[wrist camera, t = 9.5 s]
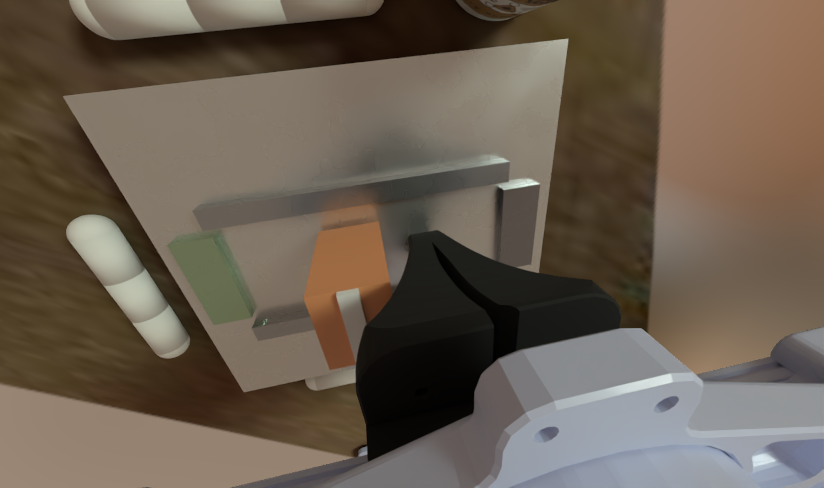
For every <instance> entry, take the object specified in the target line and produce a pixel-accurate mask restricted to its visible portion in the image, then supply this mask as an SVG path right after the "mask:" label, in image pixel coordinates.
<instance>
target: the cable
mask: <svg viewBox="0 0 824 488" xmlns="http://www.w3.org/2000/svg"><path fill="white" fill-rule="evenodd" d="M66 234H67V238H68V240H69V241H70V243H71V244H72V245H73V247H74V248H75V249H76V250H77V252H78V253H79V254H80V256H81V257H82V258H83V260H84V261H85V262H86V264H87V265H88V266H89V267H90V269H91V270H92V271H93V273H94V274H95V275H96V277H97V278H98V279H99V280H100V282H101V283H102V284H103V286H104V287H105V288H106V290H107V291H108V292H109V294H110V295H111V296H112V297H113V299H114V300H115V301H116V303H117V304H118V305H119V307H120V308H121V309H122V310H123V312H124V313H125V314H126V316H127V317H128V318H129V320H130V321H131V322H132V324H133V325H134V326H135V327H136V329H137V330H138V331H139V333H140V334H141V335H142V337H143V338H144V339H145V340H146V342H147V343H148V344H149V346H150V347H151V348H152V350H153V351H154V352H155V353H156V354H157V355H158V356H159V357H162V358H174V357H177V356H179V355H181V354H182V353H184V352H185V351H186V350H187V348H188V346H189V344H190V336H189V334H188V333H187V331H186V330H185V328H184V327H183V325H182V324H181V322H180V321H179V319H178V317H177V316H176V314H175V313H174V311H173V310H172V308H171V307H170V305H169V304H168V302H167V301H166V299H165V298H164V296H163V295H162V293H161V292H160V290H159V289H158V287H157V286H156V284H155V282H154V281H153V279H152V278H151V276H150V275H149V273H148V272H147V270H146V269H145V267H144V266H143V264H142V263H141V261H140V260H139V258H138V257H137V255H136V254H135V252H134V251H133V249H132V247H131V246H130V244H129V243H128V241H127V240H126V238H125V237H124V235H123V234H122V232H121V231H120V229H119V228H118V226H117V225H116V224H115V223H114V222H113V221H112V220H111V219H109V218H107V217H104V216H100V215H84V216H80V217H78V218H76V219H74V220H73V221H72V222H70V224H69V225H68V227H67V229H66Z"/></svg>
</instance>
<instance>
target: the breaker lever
mask: <svg viewBox="0 0 824 488" xmlns="http://www.w3.org/2000/svg"><path fill="white" fill-rule="evenodd" d="M391 296H392V290H391V284H390V279H389V274H388V268H387V263H386V257H385V252H384V247H383V241H382V236H381V230H380V225H379V221H378V222H372V223H367V224H361V225H355V226H349V227H343V228H337V229H331V230H325V231H319V232H318V237H317V241H316V246H315V250H314V254H313V259H312V263H311V268H310V272H309V276H308V281H307V285H306V290H305V294H304V301H305V304H306V306H307V309H308V312H309V315H310V317H311V320H312V323H313V326H314V328H315V331H316V334H317V337H318V339H319V342H320V345H321V348H322V350H323V353H324V356H325V359H326V361H327V364H328V367H329V370H333V369H338V368H342V367H347V366H352V365H356V360H357V354H358V348H359V344H360V340H361V337H362V333H363V330H364V327H365V326H366V325H367V324H368V323H369V322H370V321H371V320H372V319H373V318H374V317H375V316H376V315H377V314H378V313H379V312H380V311H381V310H382V308H383V307H384V306H385V304H386V303H387V302H388V300H389V299H390V298H391Z"/></svg>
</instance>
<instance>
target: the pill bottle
mask: <svg viewBox="0 0 824 488" xmlns="http://www.w3.org/2000/svg"><path fill="white" fill-rule="evenodd" d="M456 1H457V3H458V4H459V5H460V6H461V7H462V8H463V9H464V10H465V11H466V12H468V13H470V14H471V15H473V16H475V17H477V18H480V19H483V20H488V21H503V20H507V19H510V18H513V17H516V16H519V15H522V14H525V13H527V12H530V11H532V10H534V9H537V8H539V7H542V6H545V5H547V4H550V3H552V2H555V1H558V0H456Z"/></svg>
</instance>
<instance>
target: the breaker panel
mask: <svg viewBox="0 0 824 488" xmlns="http://www.w3.org/2000/svg"><path fill="white" fill-rule="evenodd" d="M567 46H568V39H562V40H553V41H544V42H536V43H527V44H518V45H509V46H500V47H492V48H483V49H474V50H465V51H456V52H448V53H439V54H430V55H421V56H412V57H403V58H395V59H386V60H377V61H368V62H359V63H351V64H342V65H333V66H324V67H315V68H307V69H298V70H289V71H280V72H271V73H262V74H254V75H245V76H236V77H227V78H218V79H210V80H201V81H192V82H183V83H174V84H166V85H157V86H148V87H139V88H130V89H121V90H113V91H104V92H95V93H86V94H77V95H69V96H63V97H64V99H65V101H66V102H67V104H68V106H69V107H70V109H71V111H72V112H73V114H74V115H75V117H76V119H77V120H78V122H79V124H80V125H81V127H82V128H83V130H84V132H85V133H86V135H87V137H88V138H89V140H90V142H91V143H92V145H93V146H94V148H95V150H96V151H97V153H98V155H99V156H100V158H101V160H102V161H103V163H104V164H105V166H106V168H107V169H108V171H109V173H110V174H111V176H112V178H113V179H114V181H115V182H116V184H117V186H118V187H119V189H120V191H121V192H122V194H123V196H124V197H125V199H126V200H127V202H128V204H129V205H130V207H131V209H132V210H133V212H134V214H135V215H136V217H137V218H138V220H139V222H140V223H141V225H142V227H143V228H144V230H145V232H146V233H147V235H148V236H149V238H150V240H151V241H152V243H153V245H154V246H155V248H156V250H157V251H158V253H159V254H160V256H161V258H162V259H163V261H164V263H165V264H166V266H167V267H168V269H169V271H170V272H171V274H172V276H173V277H174V279H175V281H176V282H177V284H178V285H179V287H180V289H181V290H182V292H183V294H184V295H185V297H186V299H187V300H188V302H189V303H190V305H191V307H192V308H193V310H194V312H195V313H196V315H197V317H198V318H199V320H200V321H201V323H202V325H203V326H204V328H205V330H206V331H207V333H208V335H209V336H210V338H211V339H212V341H213V343H214V344H215V346H216V348H217V349H218V351H219V353H220V354H221V356H222V357H223V359H224V361H225V362H226V364H227V366H228V367H229V369H230V371H231V372H232V374H233V375H234V377H235V379H236V380H237V382H238V384H239V385H240V387H241V389H242V390H243V392H248V391H253V390H257V389H262V388H266V387H271V386H276V385H280V384H285V383H290V382H294V381H299V380H304V379H308V378H313V377H318V376H322V375H327V374H331V373H336V372H341V371H345V370H350V369H355V368H356V365H352V366H347V367H342V368H338V369H333V370H329V367H328V364H327V361H326V359H325V356H324V353H323V350H322V348H321V345H320V342H319V339H318V337H317V334H316V331H315V328H314V326H313V323H312V320H311V317H310V315H309V312H308V309H307V306H306V304H305V301H304V294H305V290H306V285H307V281H308V276H309V272H310V268H311V263H312V259H313V254H314V250H315V246H316V241H317V237H318V232H319V231H325V230H331V229H337V228H343V227H349V226H355V225H361V224H367V223H372V222H378V221H379V225H380V230H381V236H382V241H383V247H384V252H385V257H386V263H387V268H388V274H389V279H390V284H391V290H392V294H393V293H394V291H395V289H396V287H397V286H398V284H399V282H400V279H401V277H402V275H403V272H404V269H405V266H406V262H407V259H408V253H409V243H408V237H409V236H410V235H411V234H416V233H422V232H428V231H434V230H439V231H440V232H442V233H444V234H445V235H447V236H449V237H450V238H452V239H453V240H455V241H457V242H458V243H460V244H462V245H464V246H465V247H467V248H469V249H471V250H473V251H475V252H477V253H479V254H481V255H483V256H485V257H488V258H490V259H493V260H495V261H498V262H501V263H503V264H506V265H509V266H513V267H516V268H520V269H524V270H527V271H532V272H536V273H539V265H540V257H541V249H542V242H543V234H544V226H545V218H546V210H547V202H548V195H549V187H550V179H551V171H552V163H553V156H554V148H555V140H556V132H557V124H558V116H559V109H560V101H561V93H562V85H563V77H564V70H565V62H566V54H567Z"/></svg>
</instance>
